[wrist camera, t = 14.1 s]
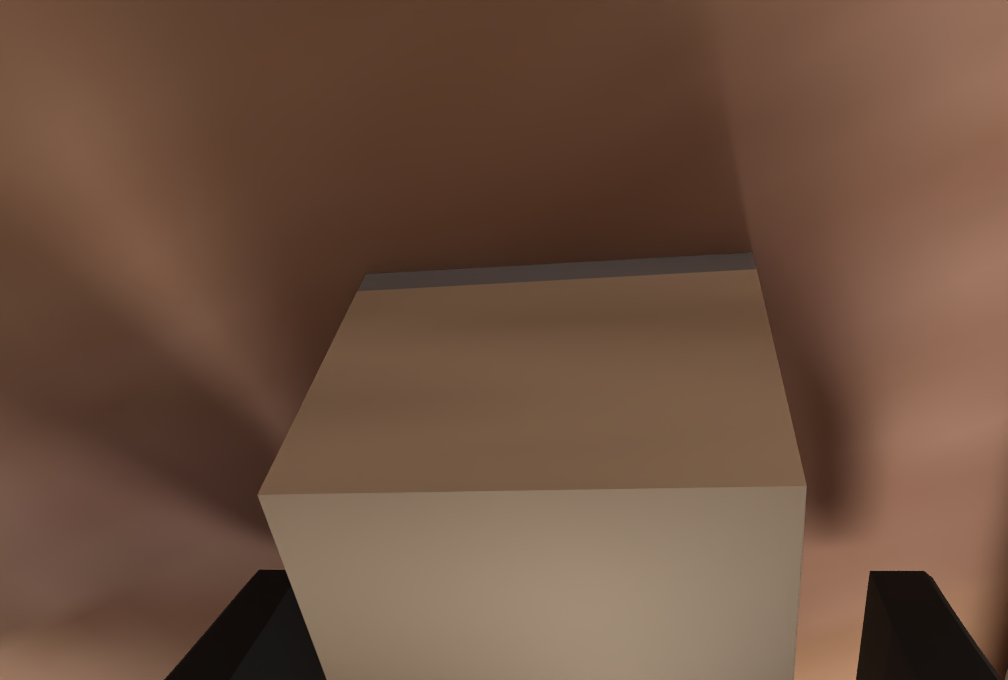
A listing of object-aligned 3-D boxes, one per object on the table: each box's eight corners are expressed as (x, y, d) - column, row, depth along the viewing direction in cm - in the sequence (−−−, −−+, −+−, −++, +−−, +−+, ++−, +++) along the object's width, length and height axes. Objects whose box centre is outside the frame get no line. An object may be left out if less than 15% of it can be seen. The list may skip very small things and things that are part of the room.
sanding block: (741, 684, 15) (774, 962, 11) (468, 679, 15) (424, 939, 12) (750, 242, 10) (806, 486, 7) (369, 266, 11) (257, 494, 8)
